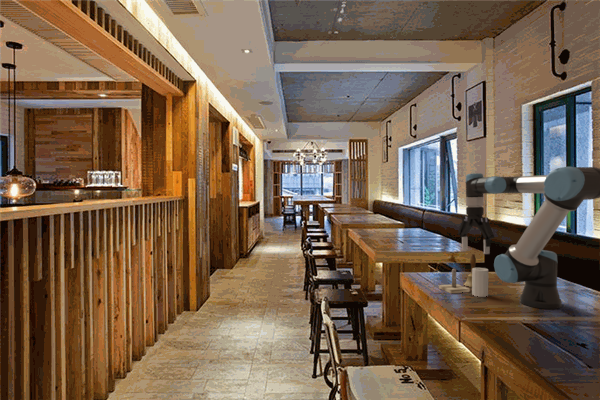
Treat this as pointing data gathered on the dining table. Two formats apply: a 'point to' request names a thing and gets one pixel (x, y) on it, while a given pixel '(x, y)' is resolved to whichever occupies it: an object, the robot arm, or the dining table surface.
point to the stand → (454, 285)
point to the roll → (480, 282)
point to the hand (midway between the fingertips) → (475, 252)
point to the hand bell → (469, 279)
